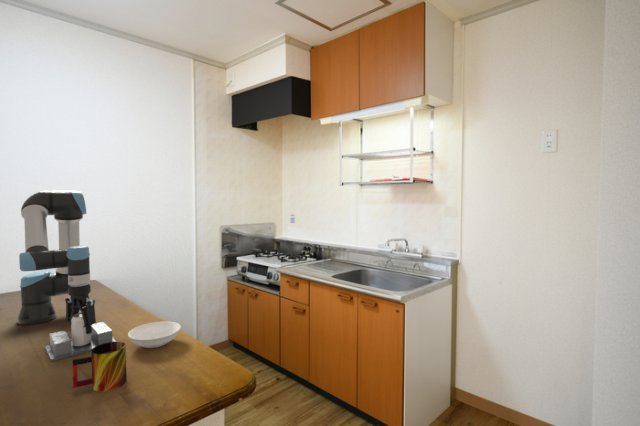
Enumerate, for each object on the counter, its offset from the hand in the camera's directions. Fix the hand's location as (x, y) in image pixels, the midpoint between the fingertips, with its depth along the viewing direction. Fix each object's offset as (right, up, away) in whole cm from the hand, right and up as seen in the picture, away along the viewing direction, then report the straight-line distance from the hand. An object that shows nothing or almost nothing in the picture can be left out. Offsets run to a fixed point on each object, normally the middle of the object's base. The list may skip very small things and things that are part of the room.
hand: (81, 339), depth 144 cm
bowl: (+30, -3, +1) cm, 30 cm away
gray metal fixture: (0, -3, 0) cm, 3 cm away
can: (0, -2, 0) cm, 2 cm away
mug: (+27, -4, -30) cm, 41 cm away
